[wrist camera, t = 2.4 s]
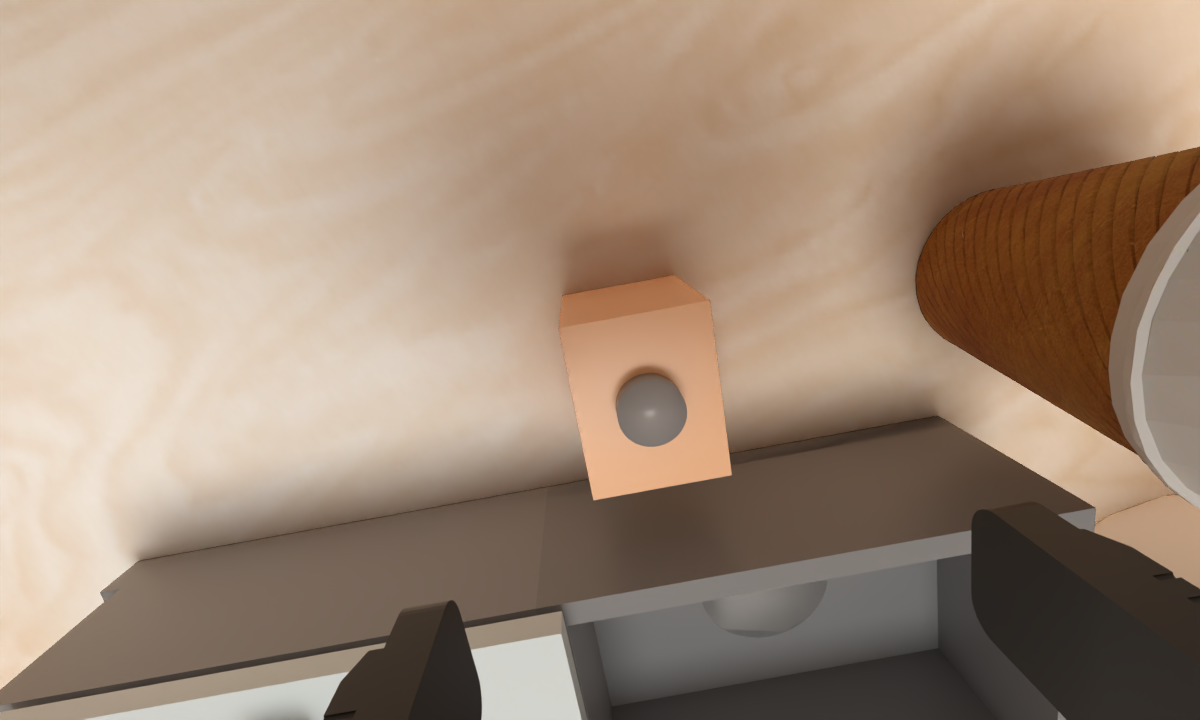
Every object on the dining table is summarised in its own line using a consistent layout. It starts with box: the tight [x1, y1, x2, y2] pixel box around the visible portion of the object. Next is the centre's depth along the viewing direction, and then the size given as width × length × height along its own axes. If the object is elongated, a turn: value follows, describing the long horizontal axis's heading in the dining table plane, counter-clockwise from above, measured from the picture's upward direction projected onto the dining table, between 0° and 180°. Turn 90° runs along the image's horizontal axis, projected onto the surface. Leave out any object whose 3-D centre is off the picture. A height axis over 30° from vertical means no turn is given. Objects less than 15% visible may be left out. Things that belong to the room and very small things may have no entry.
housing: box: [0, 416, 1096, 720], centre depth 22 cm, size 12×35×8 cm, turn 100°
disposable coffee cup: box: [916, 147, 1200, 509], centre depth 17 cm, size 10×10×12 cm
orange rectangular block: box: [558, 275, 732, 500], centre depth 19 cm, size 6×4×7 cm
